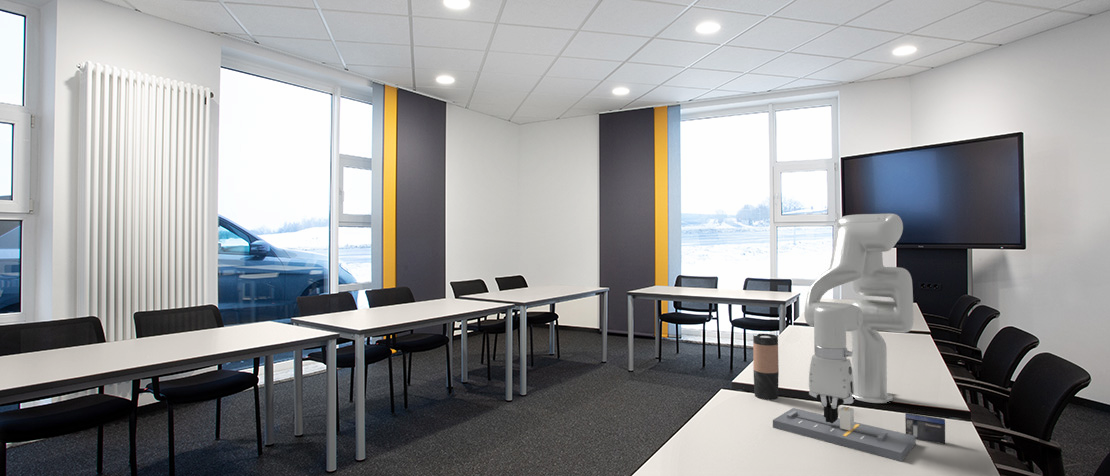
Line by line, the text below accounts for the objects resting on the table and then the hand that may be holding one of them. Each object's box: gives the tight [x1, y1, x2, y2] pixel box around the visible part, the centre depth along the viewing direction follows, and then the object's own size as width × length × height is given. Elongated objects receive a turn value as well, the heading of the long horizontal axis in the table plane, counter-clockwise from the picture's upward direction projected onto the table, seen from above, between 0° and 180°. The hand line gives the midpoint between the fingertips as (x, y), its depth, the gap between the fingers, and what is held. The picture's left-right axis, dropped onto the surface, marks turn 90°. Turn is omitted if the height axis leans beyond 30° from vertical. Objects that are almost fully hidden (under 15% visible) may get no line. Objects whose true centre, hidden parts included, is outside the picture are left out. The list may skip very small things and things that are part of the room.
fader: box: [839, 406, 855, 431], centre depth 133 cm, size 3×2×5 cm
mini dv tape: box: [904, 412, 946, 445], centre depth 130 cm, size 8×2×6 cm, turn 55°
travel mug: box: [752, 333, 780, 401], centre depth 167 cm, size 8×8×20 cm
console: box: [772, 407, 917, 462], centre depth 134 cm, size 14×30×3 cm, turn 43°
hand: (830, 421), depth 136 cm, fingers closed
